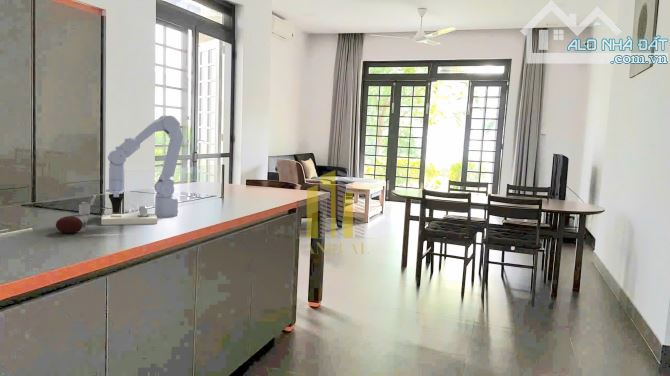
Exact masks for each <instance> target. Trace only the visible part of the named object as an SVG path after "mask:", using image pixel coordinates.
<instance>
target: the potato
mask: <svg viewBox="0 0 670 376" xmlns="http://www.w3.org/2000/svg"><path fill="white" fill-rule="evenodd" d="M83 224H84V223H83V221H82V220H81V219H80V218H79V217H76V216H74V215H73V216H72V215H69V216H68V215H67V216H63V217H61V218H58V220H57V221H56V222H55V227H56V230H58V232H61V233H64V234H65V233H66V234H74V233H77V232H79V231H81V230H82V228H83V226H84V225H83Z"/></svg>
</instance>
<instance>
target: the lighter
mask: <svg viewBox="0 0 670 376" xmlns="http://www.w3.org/2000/svg"><path fill="white" fill-rule="evenodd" d="M96 198H97V196H96V195H94V194H90V196H89V198H88V201H82V202H81V204H79V205H78V215H79V216H86V214H88V215H91V206H93V205H94V203H95V201H96Z"/></svg>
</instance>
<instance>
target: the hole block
mask: <svg viewBox="0 0 670 376" xmlns="http://www.w3.org/2000/svg"><path fill="white" fill-rule="evenodd" d="M139 216H140V213H120V214H112V213H105V214H104V213H103V214H101V223H100V224H101V226H108V225H109V226H112V225H113V226H114V225H116V226H117V225H119V226H120V225H122V226H123V225H157V224H158V216H156V214H155V213H147V217H139Z"/></svg>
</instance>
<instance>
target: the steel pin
mask: <svg viewBox="0 0 670 376" xmlns="http://www.w3.org/2000/svg"><path fill="white" fill-rule="evenodd" d="M139 214H140V216H139V217H147V214H148V206H146V205H145V206H143V205H142V206H139Z"/></svg>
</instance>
